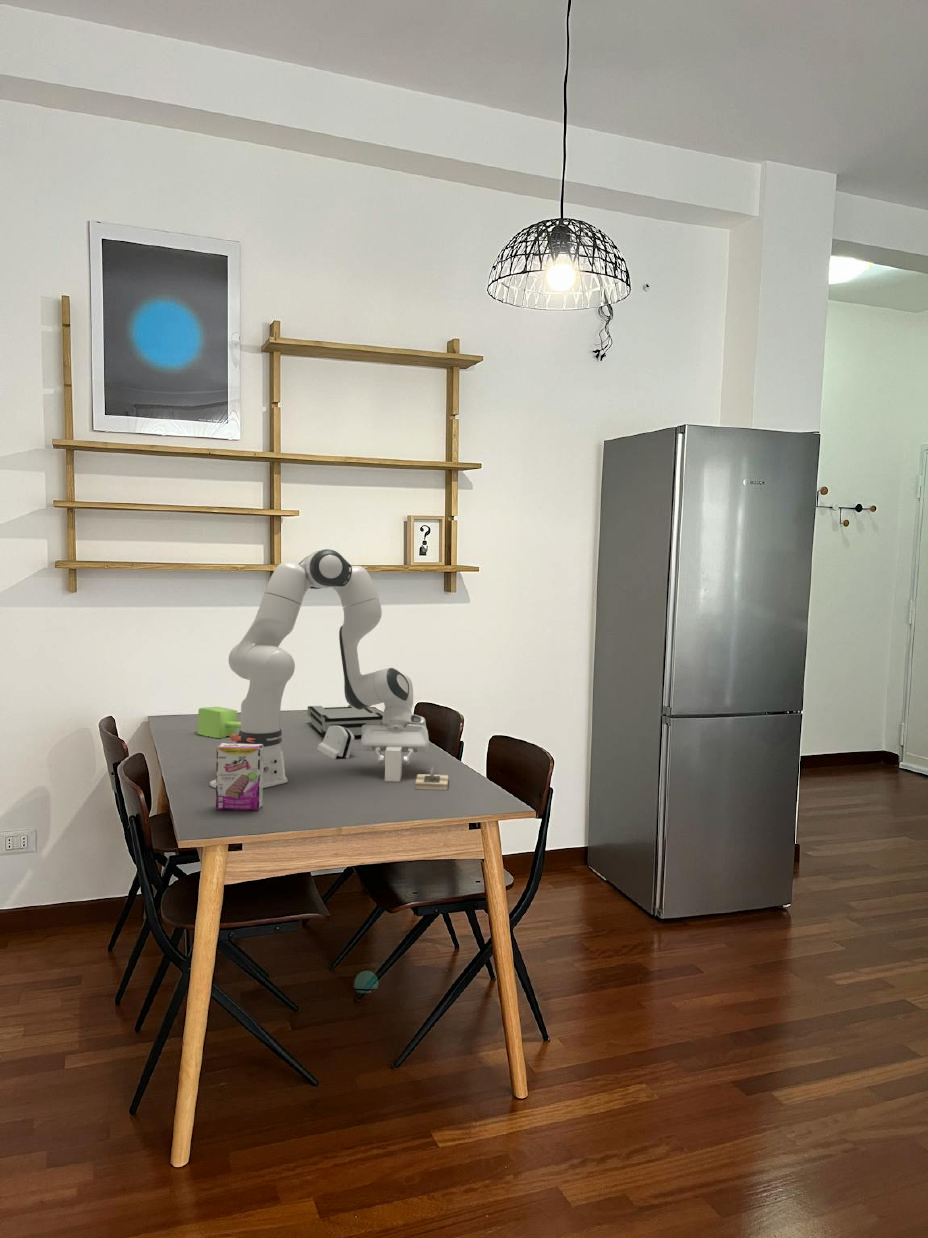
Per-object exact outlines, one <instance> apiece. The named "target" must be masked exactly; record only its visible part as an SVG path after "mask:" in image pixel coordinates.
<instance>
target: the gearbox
mask: <svg viewBox="0 0 928 1238" xmlns="http://www.w3.org/2000/svg"><path fill="white" fill-rule="evenodd" d="M237 729H241V721H238V710H237V709H232V708H226V707H220V706H211V707H208V706H207V707H201V708H198V714H197V735H200V736H205V737H208V736H209V738H216V739H224V738H227V737H226V736H229V737H230V736H231V735H232V734H236V735H237ZM223 737H224V738H223Z"/></svg>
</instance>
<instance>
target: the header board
mask: <svg viewBox="0 0 928 1238" xmlns="http://www.w3.org/2000/svg"><path fill="white" fill-rule="evenodd" d="M429 771H430V773H429V774H427V773H426V774H424V773H423V774H422V773H421V774H420V773H419V774H417V775H416V780H415V784H414V790H432V791H433V790H434V791H435V790H436V791H437V790H438V791H440V790H441V791H447V790H448V786H449V785H448V784H449V774H435V767H434V766H431V767H430V770H429Z"/></svg>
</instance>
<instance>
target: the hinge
mask: <svg viewBox="0 0 928 1238" xmlns="http://www.w3.org/2000/svg"><path fill="white" fill-rule="evenodd" d="M354 741H355V735H353V734H352V732H351V731H350V730H348V729H346V728H345V727H341V726H336V725H333V726H330V727H329V728H328V730H327V732H326V735H325V737H323V740H322V742H320V743H318V745H317V748H316V749H317V750H318V751H319V752H321V753H322V754H324V755H326V756H327V757H329V758H331V759H332V760H336V759H337V757H341V758H342V757H343V758H345V759H350V756H351V752H352V748H353V745H354Z"/></svg>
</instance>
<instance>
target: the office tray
mask: <svg viewBox="0 0 928 1238" xmlns="http://www.w3.org/2000/svg"><path fill="white" fill-rule="evenodd" d="M307 716H308V717H309V718H310V722H311V723H310V724H312V725H311V726H312V727H313V729H314V730H316V731H317V733H318V734H319V735H320V736H321V737H322V738H324V737H325V735H326V732H327V730H328V728H329V727H330V726H333V725H336V726H341V727H345V728H346V729H348V730H350V731H351V732H352V734H353V736H359V737H362V733H361V729H362V726H363V725H364V724H366V723H367V722H372V723H375V722H382V719H383V714H381V713H380V712H373V711H372V710H370V709H369V707H367V708H364V709H361V710H359V709H356V708H354V707H353V706H351V705H350V704H348V705H347V706H334V707H333V706H330V707H329V706H328V707H323V706H322V705H310V706H307Z"/></svg>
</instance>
